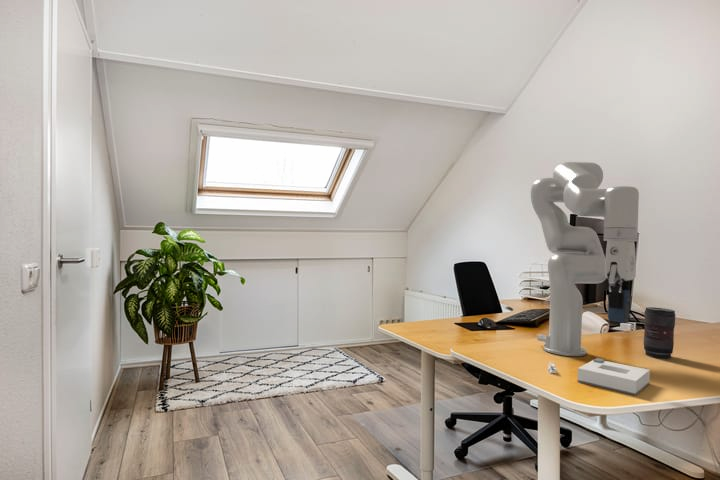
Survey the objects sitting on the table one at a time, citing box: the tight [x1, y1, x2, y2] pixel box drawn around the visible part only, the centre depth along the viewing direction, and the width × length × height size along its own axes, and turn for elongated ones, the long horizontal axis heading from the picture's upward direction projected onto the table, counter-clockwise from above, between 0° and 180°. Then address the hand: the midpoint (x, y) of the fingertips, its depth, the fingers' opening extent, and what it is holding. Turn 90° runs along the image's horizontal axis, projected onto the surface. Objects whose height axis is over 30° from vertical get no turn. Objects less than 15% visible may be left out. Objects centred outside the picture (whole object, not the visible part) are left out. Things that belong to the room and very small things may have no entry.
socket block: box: [577, 357, 651, 396], centre depth 116 cm, size 13×13×4 cm
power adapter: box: [547, 361, 558, 374], centre depth 123 cm, size 3×3×3 cm
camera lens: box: [643, 306, 676, 360], centre depth 143 cm, size 8×8×15 cm
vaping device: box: [607, 279, 631, 324], centre depth 116 cm, size 3×5×12 cm, turn 25°
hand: (618, 306), depth 116 cm, fingers closed on vaping device, 3 cm apart
